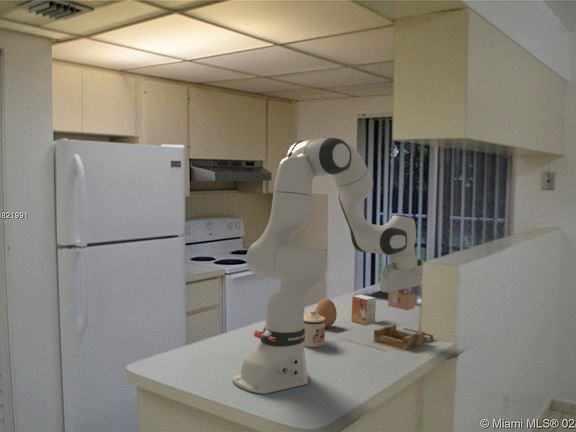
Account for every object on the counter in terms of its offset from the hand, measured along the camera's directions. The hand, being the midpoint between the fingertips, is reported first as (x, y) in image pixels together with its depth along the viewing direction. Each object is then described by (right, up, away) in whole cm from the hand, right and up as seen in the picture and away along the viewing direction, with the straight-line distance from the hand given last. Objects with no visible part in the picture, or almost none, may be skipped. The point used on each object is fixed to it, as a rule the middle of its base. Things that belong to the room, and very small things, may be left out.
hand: (400, 301), depth 189 cm
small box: (-9, -14, +31) cm, 35 cm away
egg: (-24, -14, +23) cm, 36 cm away
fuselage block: (0, -2, 0) cm, 2 cm away
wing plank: (+6, -14, +7) cm, 17 cm away
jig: (+2, -15, +3) cm, 16 cm away
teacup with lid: (-30, -15, +3) cm, 33 cm away
